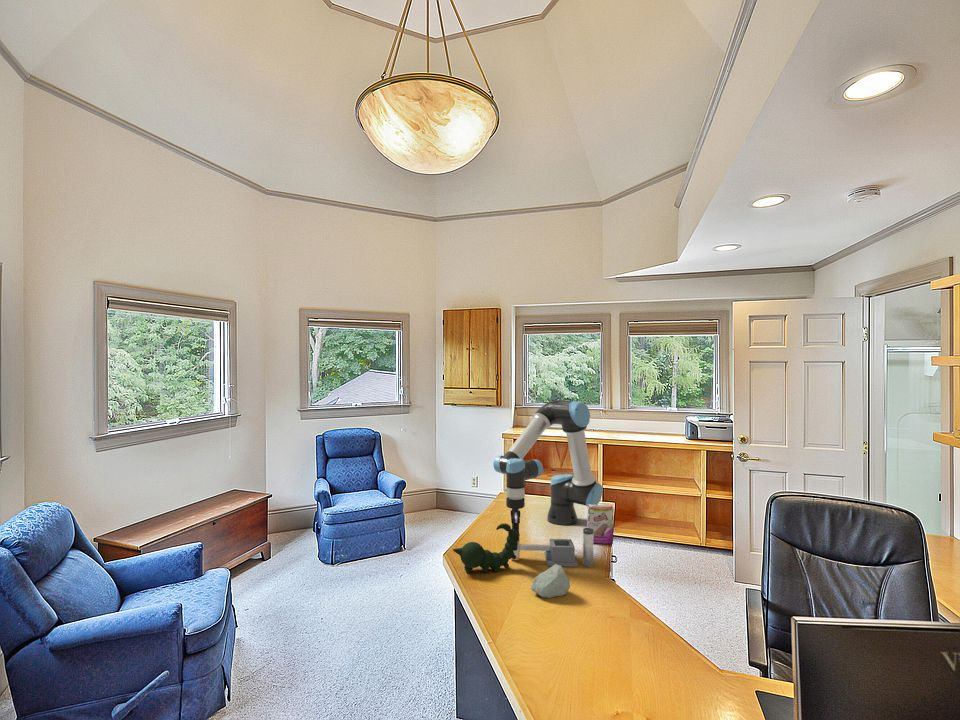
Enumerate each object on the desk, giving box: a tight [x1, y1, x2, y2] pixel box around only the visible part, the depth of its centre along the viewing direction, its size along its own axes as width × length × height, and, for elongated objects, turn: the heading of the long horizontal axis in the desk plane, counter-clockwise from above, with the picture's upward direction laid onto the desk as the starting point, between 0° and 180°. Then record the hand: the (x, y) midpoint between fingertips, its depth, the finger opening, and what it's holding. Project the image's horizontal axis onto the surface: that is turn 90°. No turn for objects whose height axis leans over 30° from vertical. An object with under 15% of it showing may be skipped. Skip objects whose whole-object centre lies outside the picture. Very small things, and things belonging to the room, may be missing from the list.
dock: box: [543, 538, 579, 568], centre depth 199 cm, size 12×12×7 cm
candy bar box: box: [586, 504, 614, 545], centre depth 219 cm, size 11×5×16 cm, turn 84°
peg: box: [582, 527, 594, 568], centre depth 195 cm, size 4×4×14 cm
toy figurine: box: [452, 522, 518, 573], centre depth 189 cm, size 9×19×25 cm
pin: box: [510, 543, 551, 561], centre depth 199 cm, size 3×16×10 cm, turn 88°
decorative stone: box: [530, 564, 571, 599], centre depth 170 cm, size 13×11×10 cm
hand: (515, 554), depth 200 cm, fingers closed on pin, 3 cm apart
